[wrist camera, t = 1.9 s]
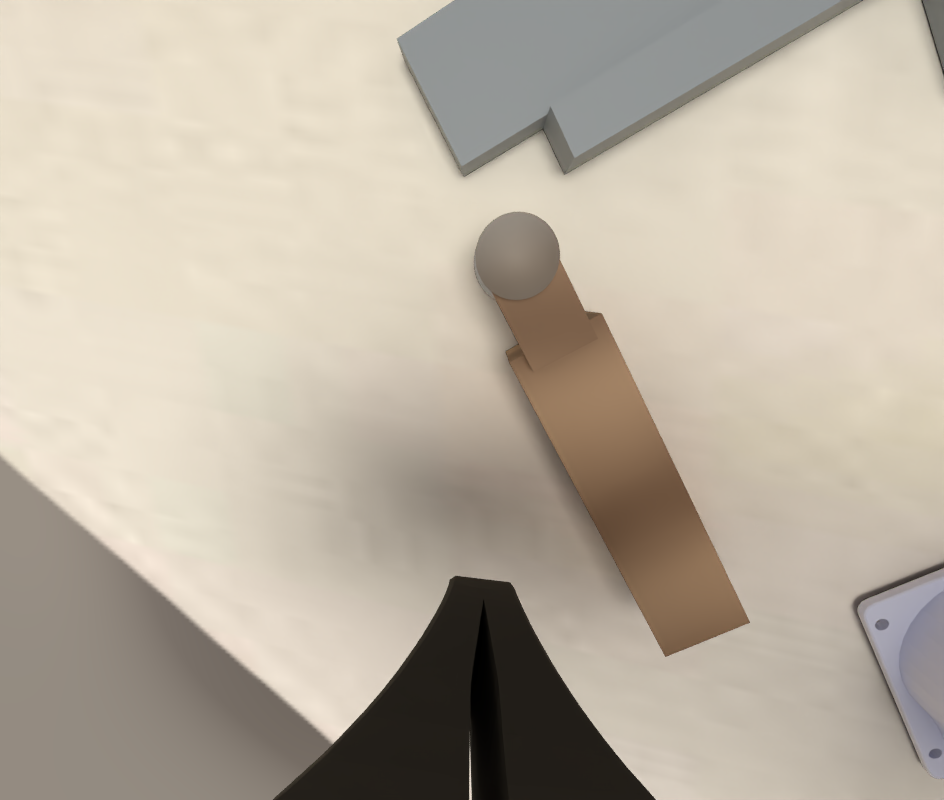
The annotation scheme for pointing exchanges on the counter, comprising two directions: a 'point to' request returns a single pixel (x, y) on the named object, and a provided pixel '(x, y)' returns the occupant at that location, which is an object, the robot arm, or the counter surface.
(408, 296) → the counter surface
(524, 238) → the leg bar
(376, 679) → the counter surface
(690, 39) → the grey stepped plate
